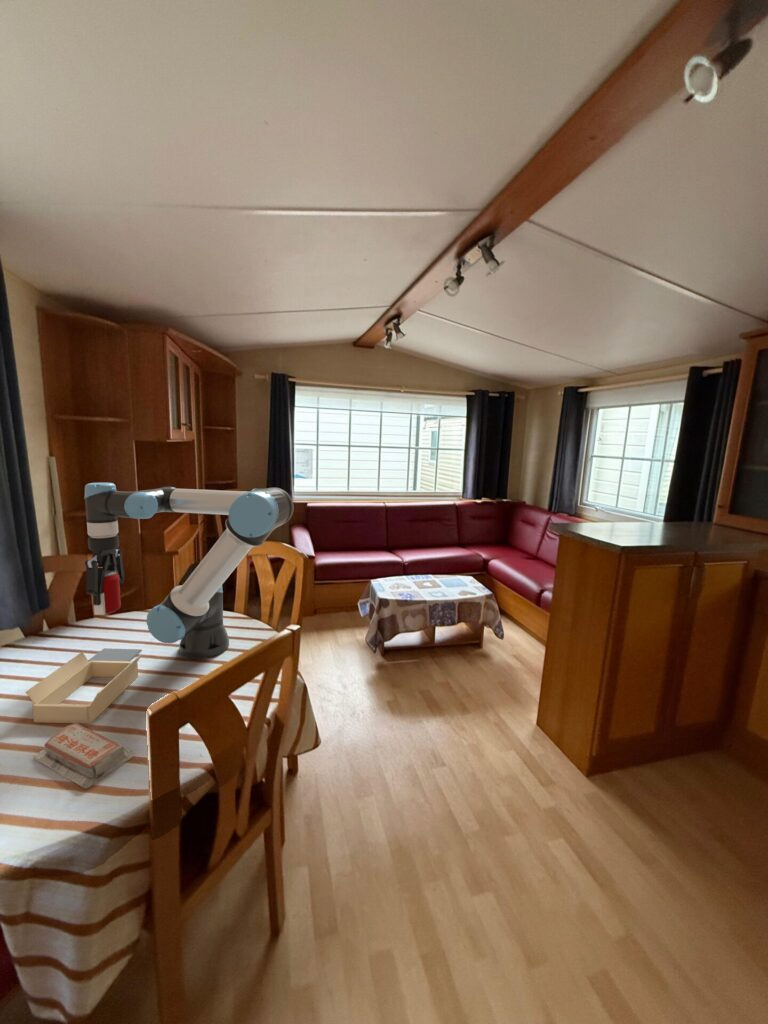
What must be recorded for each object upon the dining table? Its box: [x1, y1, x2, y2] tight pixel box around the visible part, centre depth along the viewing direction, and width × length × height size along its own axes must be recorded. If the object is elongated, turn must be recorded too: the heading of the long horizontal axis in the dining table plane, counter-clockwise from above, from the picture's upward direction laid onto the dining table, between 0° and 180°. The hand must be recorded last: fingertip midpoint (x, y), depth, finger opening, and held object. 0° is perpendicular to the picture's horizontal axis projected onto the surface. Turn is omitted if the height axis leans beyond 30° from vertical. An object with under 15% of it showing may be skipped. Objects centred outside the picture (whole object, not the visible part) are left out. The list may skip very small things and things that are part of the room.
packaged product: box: [32, 723, 134, 790], centre depth 87 cm, size 18×5×10 cm
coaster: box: [88, 648, 143, 662], centre depth 126 cm, size 12×12×1 cm
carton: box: [25, 651, 143, 724], centre depth 107 cm, size 17×21×8 cm
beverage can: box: [102, 570, 122, 615], centre depth 123 cm, size 7×7×12 cm
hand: (108, 609), depth 124 cm, fingers closed on beverage can, 7 cm apart
